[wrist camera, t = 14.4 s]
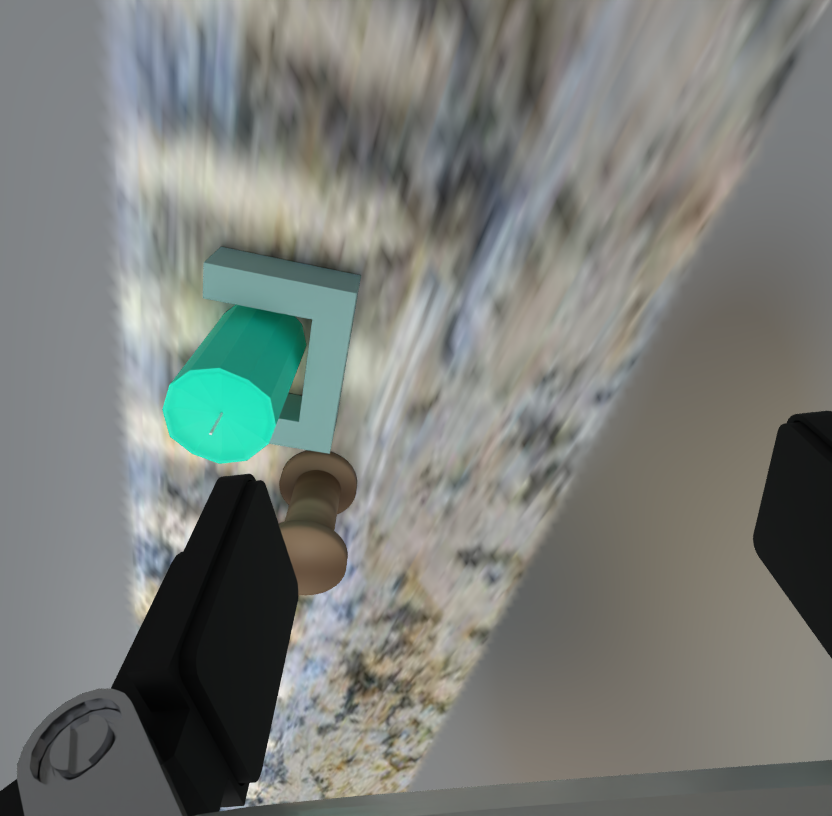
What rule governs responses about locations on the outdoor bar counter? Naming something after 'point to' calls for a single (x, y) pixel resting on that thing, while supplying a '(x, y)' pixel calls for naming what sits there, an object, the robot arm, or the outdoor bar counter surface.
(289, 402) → the notch board
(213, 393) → the candle
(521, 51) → the outdoor bar counter surface
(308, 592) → the bobbin
